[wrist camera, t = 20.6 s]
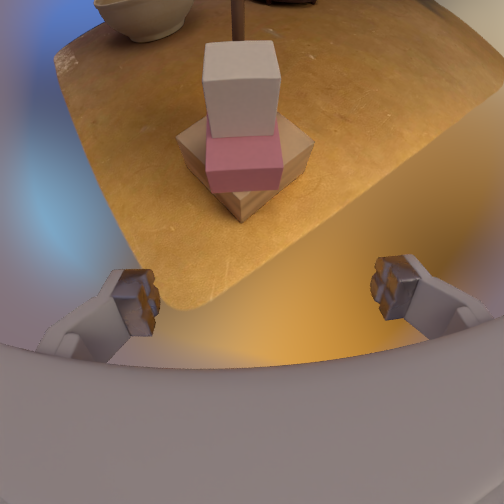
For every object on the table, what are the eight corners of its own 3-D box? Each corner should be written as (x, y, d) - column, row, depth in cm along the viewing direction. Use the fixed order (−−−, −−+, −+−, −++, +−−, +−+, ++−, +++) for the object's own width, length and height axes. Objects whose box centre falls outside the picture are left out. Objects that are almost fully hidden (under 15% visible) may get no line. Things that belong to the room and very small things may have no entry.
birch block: (304, 171, 25) (315, 141, 20) (241, 223, 24) (240, 200, 19) (247, 123, 27) (248, 90, 22) (186, 167, 25) (175, 136, 20)
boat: (278, 190, 19) (306, 70, 9) (211, 194, 19) (180, 74, 8) (264, 80, 22) (271, -19, 11) (213, 83, 22) (201, -16, 11)
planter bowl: (111, 31, 33) (96, -10, 22) (192, 4, 34) (186, -39, 24) (112, 68, 29) (89, 15, 19) (215, 34, 31) (210, -23, 21)
